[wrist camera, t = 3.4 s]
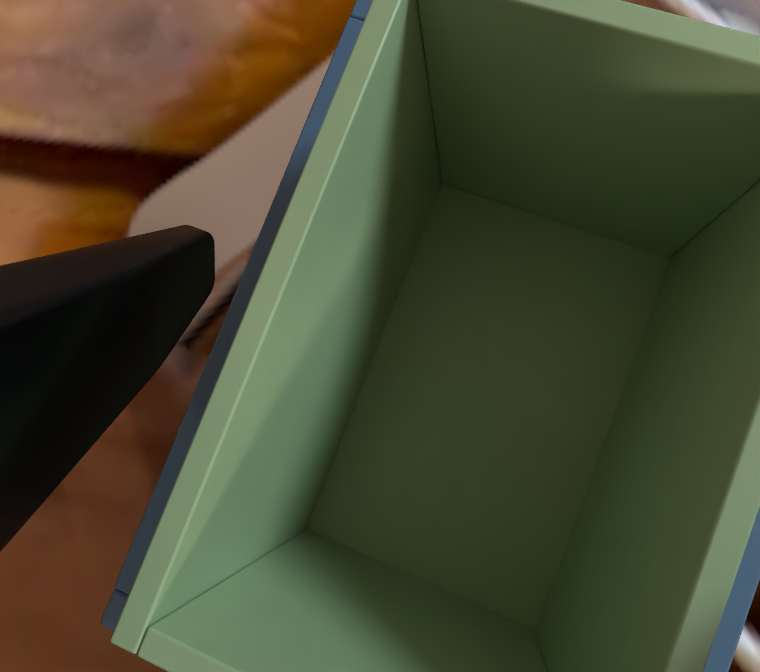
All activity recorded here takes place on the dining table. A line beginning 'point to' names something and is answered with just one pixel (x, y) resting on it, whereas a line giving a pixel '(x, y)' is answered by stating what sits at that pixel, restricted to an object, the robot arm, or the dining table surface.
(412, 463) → the caddy
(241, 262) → the dining table surface
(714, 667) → the box
